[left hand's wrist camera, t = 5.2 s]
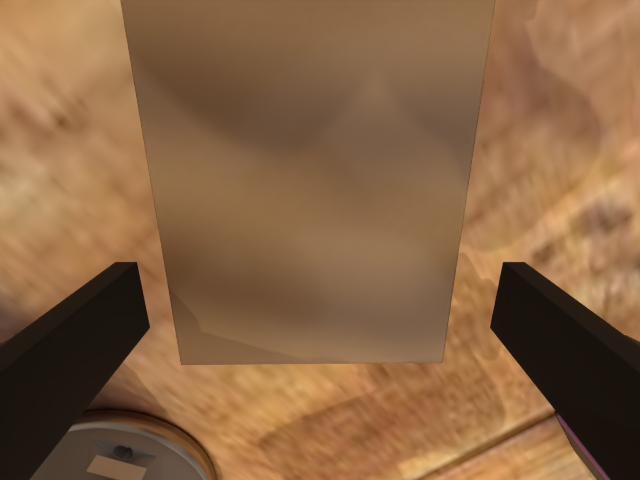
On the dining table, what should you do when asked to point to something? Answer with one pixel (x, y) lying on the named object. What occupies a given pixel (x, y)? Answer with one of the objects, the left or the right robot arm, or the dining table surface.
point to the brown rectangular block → (309, 171)
